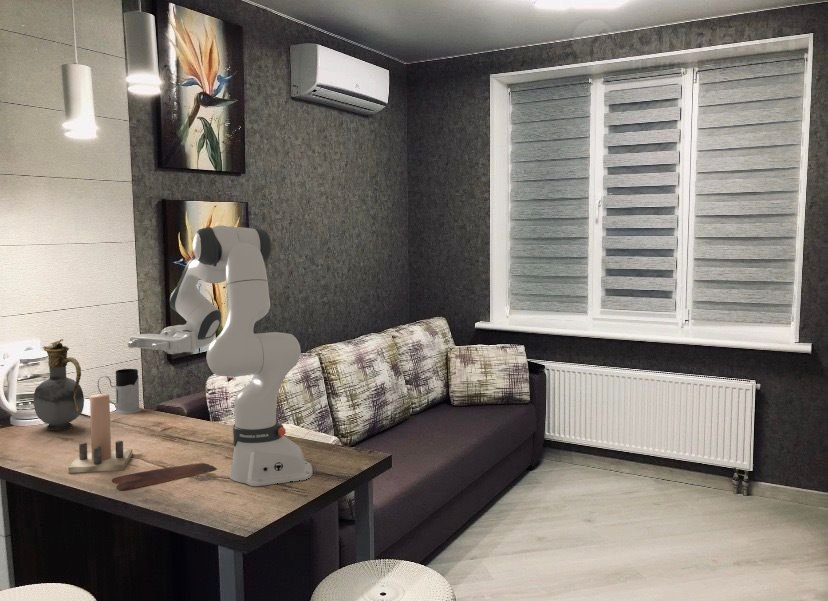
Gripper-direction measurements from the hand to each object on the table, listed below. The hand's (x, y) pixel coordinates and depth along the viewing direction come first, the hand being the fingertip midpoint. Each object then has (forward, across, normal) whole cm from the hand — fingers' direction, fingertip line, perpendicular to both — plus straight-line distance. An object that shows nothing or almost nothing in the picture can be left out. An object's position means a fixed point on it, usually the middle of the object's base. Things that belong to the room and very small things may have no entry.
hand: (141, 346), depth 207 cm
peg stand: (+15, -1, +32) cm, 35 cm away
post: (+15, -1, +30) cm, 34 cm away
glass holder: (-28, -39, +31) cm, 57 cm away
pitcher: (-4, -39, +31) cm, 50 cm away
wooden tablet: (+15, +22, +32) cm, 42 cm away
